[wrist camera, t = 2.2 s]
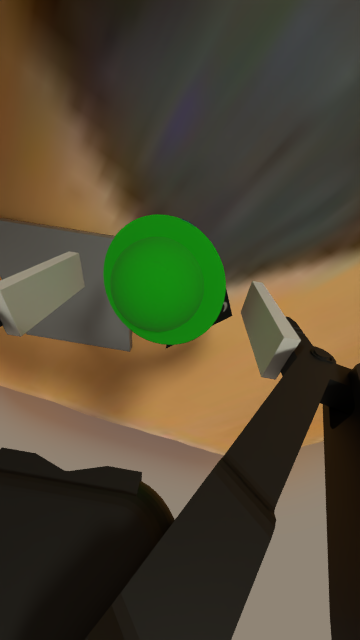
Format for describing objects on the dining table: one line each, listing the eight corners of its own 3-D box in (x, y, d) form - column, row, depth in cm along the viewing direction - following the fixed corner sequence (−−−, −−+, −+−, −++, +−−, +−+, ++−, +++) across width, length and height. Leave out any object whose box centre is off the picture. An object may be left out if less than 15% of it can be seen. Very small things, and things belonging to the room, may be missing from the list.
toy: (171, 292, 26) (143, 382, 14) (127, 237, 23) (37, 295, 10) (229, 254, 23) (260, 332, 10) (187, 183, 19) (158, 172, 7)
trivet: (-17, 215, 23) (-27, 216, 22) (129, 238, 23) (125, 240, 22) (31, 330, 33) (26, 334, 32) (132, 346, 33) (129, 351, 32)
